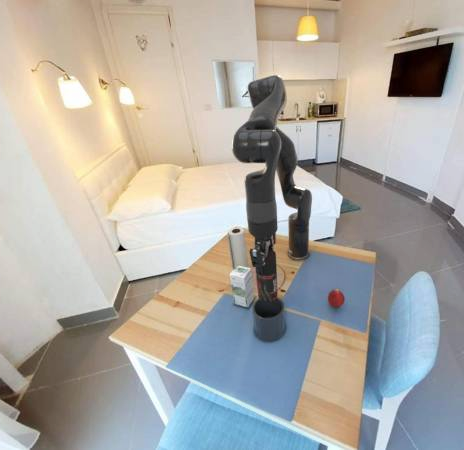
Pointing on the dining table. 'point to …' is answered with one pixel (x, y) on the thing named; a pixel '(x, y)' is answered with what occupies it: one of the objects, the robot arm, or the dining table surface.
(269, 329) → the dark grey cup
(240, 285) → the syrup box
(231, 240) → the paper towel roll
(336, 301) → the onion
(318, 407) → the dining table surface
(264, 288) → the deodorant
